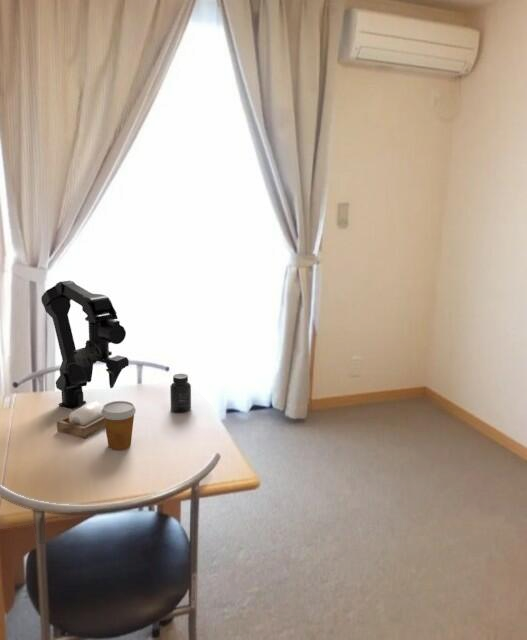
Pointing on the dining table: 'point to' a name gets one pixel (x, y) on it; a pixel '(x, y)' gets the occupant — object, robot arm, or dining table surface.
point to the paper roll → (86, 414)
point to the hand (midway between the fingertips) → (100, 384)
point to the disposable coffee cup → (119, 424)
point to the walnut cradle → (80, 427)
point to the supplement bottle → (180, 394)
